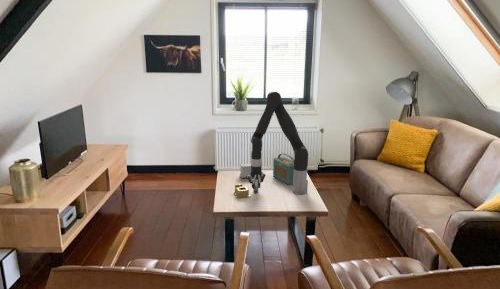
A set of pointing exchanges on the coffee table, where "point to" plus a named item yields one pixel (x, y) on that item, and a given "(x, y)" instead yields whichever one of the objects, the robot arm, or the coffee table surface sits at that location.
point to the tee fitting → (241, 191)
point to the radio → (284, 169)
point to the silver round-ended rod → (256, 186)
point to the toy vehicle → (245, 170)
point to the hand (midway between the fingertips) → (255, 188)
